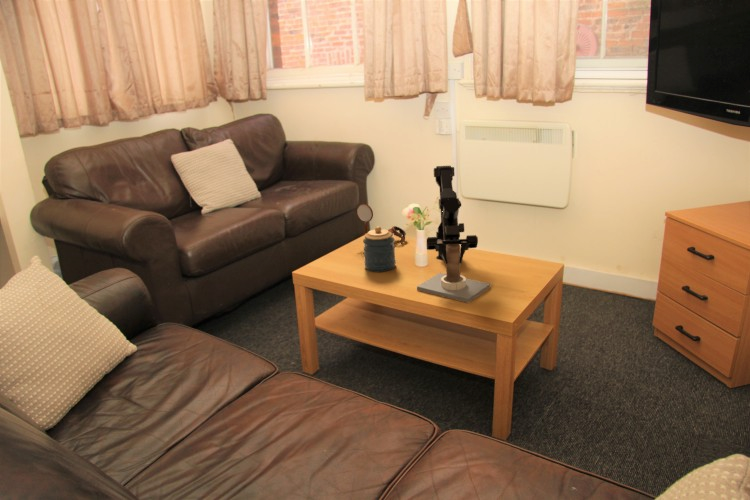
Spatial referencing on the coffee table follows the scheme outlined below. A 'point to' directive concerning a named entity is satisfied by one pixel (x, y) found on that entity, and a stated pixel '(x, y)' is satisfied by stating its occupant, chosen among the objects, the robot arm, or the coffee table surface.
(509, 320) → the coffee table surface
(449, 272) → the walnut column
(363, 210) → the magnifying glass
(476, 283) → the base board
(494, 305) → the coffee table surface
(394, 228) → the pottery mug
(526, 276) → the coffee table surface
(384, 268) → the canister
